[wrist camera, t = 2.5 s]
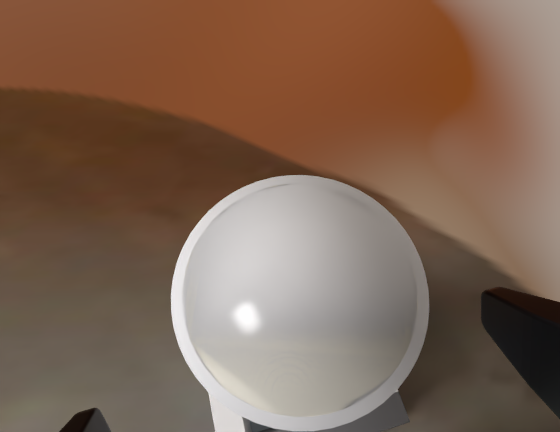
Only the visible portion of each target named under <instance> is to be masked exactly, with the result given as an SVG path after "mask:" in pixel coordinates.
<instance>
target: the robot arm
mask: <svg viewBox="0 0 560 432" xmlns="http://www.w3.org/2000/svg"><path fill="white" fill-rule="evenodd" d="M481 320H482V324H483V326H484V328H485V330H486V331H487V333H488V334H489V335H490V336H491V338H492V339H493V340H494V342H495V343H496V344H497V345H498V347H499V348H500V349H501V351H502V352H503V353H504V354H505V356H506V357H507V358H508V360H509V361H510V362H511V363H512V365H513V366H514V367H515V369H516V370H517V371H518V372H519V374H520V375H521V376H522V378H523V379H524V380H525V381H526V382H527V384H528V385H529V386H530V387H531V388H532V389H533V390H534V392H535V393H536V394H537V395H538V396H539V397H540V398H541V399H542V400H543V401H544V402H545V403H546V405H547V406H548V407H549V408H550V409H551V410H552V411H553V412H554V413H555V414H556V415H557V416H558V417H559V418H560V302H557V301H553V300H549V299H545V298H542V297H538V296H534V295H530V294H526V293H522V292H519V291H515V290H511V289H507V288H503V287H495V288H492V289H488V290H485V291H484V292H482V294H481ZM59 432H111V430H110V429H109V427H108V425H107V423H106V421H105V419H104V417H103V415H102V413H101V411H100V410H99V409H97V408H92V409H88V410H85V411H82V412H79V413H77V414H75V415H74V416H73V417H72V418H71V420H70V421H69V422H68V423H67V424H66V425H65V426H64V427H63V428H62V429H61V430H60V431H59Z"/></svg>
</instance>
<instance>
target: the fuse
mask: <svg viewBox="0 0 560 432" xmlns="http://www.w3.org/2000/svg"><path fill="white" fill-rule="evenodd" d="M171 313H172V319H173V326H174V331H175V334H176V338H177V341H178V344H179V347H180V349H181V351H182V354H183V356H184V358H185V360H186V362H187V364H188V366H189V367H190V369H191V370H192V372H193V374H194V375H195V377H196V378H197V379H198V380H199V382H200V383H201V384H202V385H203V386H204V388H205V389H206V390H207V391H208V392H209V393H210V394H211V395H212V396H213V397H215V398H216V399H217V400H218V401H219V402H220V403H221V404H223V405H224V406H226V407H227V408H229V409H230V410H232V411H233V412H235V413H236V414H238V415H240V416H242V417H244V418H246V419H248V420H250V421H252V422H255V423H257V424H261V425H264V426H267V427H271V428H274V429H281V430H288V431H318V430H324V429H330V428H334V427H338V426H341V425H344V424H347V423H350V422H352V421H354V420H356V419H358V418H360V417H362V416H364V415H366V414H368V413H370V412H371V411H373V410H374V409H375V408H377V407H378V406H380V405H381V404H383V403H384V402H385V401H386V400H387V399H388V398H389V397H390V396H391V395H392V394H393V393H394V392H395V391H396V390H397V389H398V388H399V387H400V386H401V384H402V383H403V382H404V380H405V379H406V378H407V376H408V375H409V373H410V372H411V370H412V368H413V366H414V365H415V363H416V361H417V359H418V357H419V354H420V351H421V349H422V346H423V344H424V340H425V336H426V331H427V327H428V318H429V291H428V285H427V280H426V274H425V271H424V268H423V265H422V262H421V259H420V257H419V254H418V252H417V250H416V248H415V246H414V244H413V242H412V241H411V239H410V237H409V236H408V234H407V233H406V231H405V230H404V228H403V227H402V226H401V225H400V223H399V222H398V221H397V220H396V218H395V217H394V216H393V215H391V214H390V213H389V212H388V211H387V210H386V209H385V208H384V207H383V206H382V205H380V204H379V203H378V202H377V201H375V200H374V199H373V198H371V197H369V196H368V195H366V194H365V193H363V192H361V191H360V190H357V189H355V188H353V187H351V186H349V185H347V184H344V183H341V182H338V181H335V180H332V179H327V178H322V177H317V176H307V175H288V176H280V177H273V178H269V179H265V180H261V181H258V182H255V183H252V184H250V185H247V186H245V187H243V188H241V189H239V190H237V191H235V192H233V193H232V194H230V195H229V196H227V197H226V198H224V199H223V200H221V201H220V202H219V203H218V204H216V205H215V206H214V207H213V208H212V209H210V210H209V211H208V212H207V214H206V215H205V216H204V217H203V218H202V219H201V220H200V221H199V222H198V224H197V225H196V227H195V228H194V229H193V231H192V232H191V234H190V235H189V237H188V239H187V241H186V243H185V244H184V246H183V248H182V251H181V253H180V256H179V258H178V261H177V264H176V268H175V272H174V276H173V282H172V291H171Z"/></svg>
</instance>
